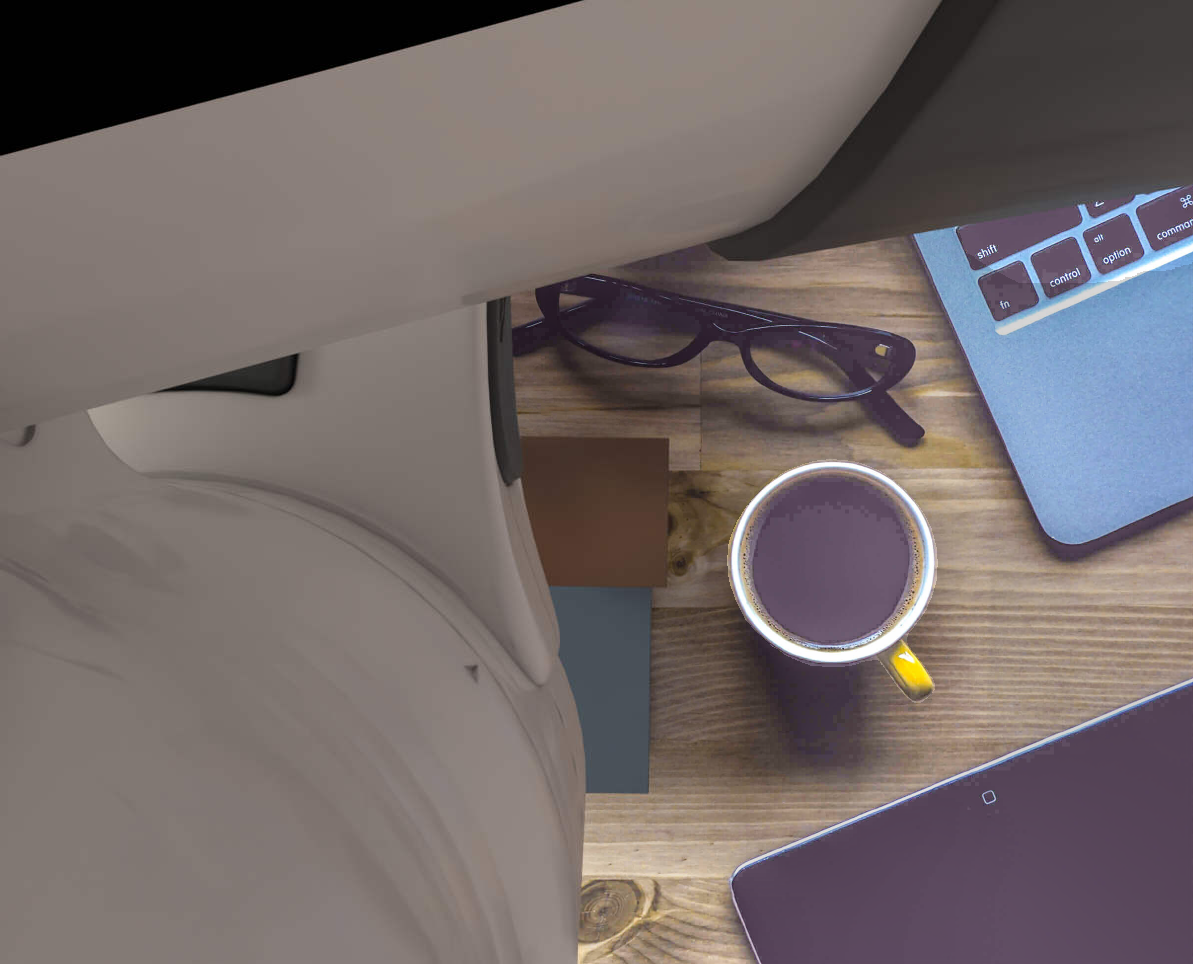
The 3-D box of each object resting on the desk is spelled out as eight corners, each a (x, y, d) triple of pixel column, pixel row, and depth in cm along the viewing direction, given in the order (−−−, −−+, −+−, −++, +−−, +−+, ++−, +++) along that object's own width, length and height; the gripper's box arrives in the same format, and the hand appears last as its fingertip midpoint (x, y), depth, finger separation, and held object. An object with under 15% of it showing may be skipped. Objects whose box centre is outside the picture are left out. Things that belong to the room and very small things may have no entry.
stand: (552, 451, 61) (519, 435, 36) (641, 452, 61) (669, 437, 36) (551, 539, 61) (516, 585, 36) (639, 540, 61) (667, 588, 36)
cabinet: (426, 740, 61) (394, 790, 51) (428, 555, 61) (396, 571, 51) (641, 743, 61) (648, 794, 51) (643, 558, 61) (652, 574, 51)
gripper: (481, 1630, 12) (546, 1000, 25) (492, 33, 11) (551, 276, 25) (-8, 1624, 12) (323, 997, 25) (-4, 31, 11) (327, 275, 25)
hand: (437, 632), depth 25 cm, fingers closed on block, 4 cm apart
